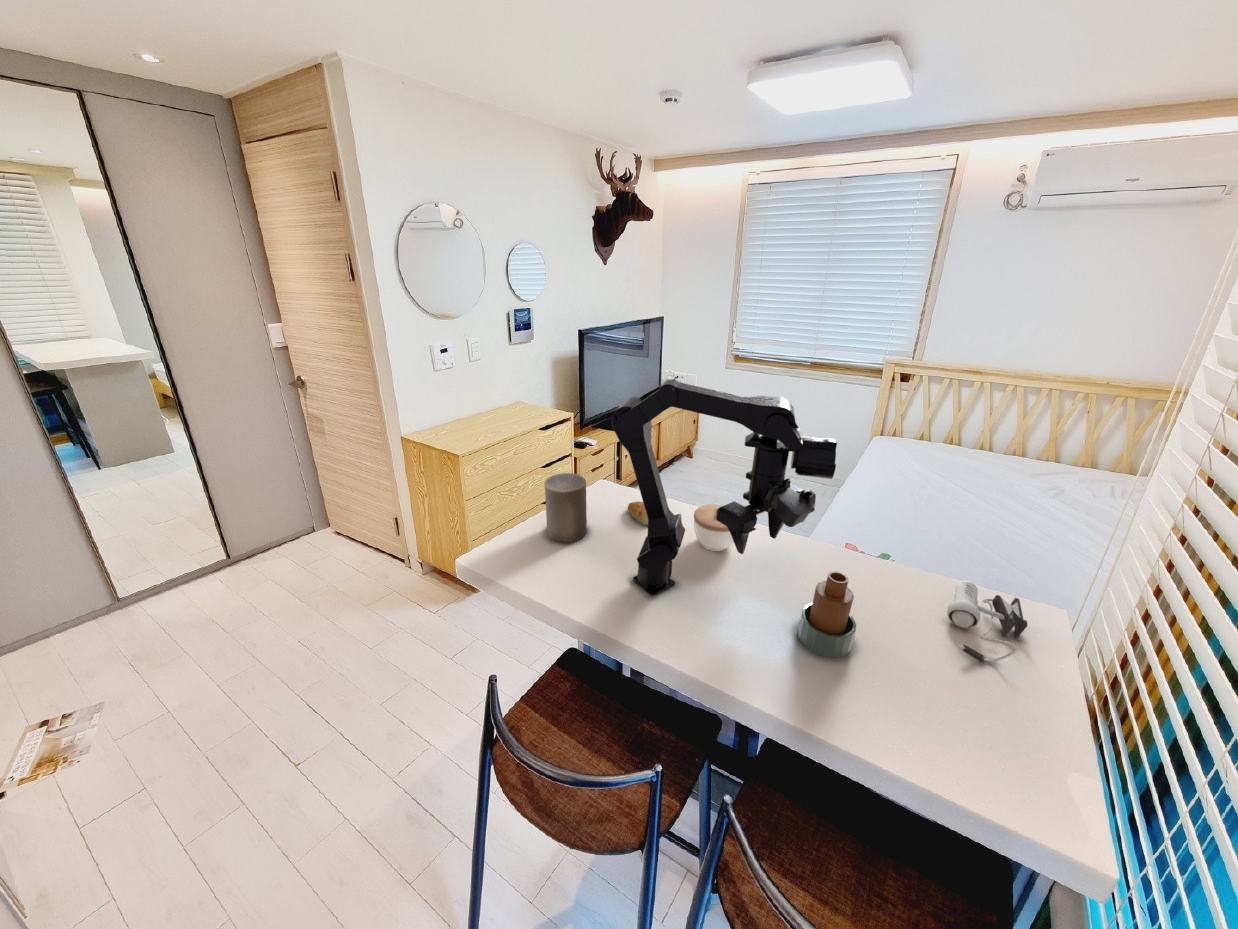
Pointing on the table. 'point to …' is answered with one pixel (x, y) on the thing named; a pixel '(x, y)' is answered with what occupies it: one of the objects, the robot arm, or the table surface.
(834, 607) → the bottle
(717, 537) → the trinket box
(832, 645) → the cup
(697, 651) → the table surface
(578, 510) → the pillar candle
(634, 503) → the pastry
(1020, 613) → the clip-on lamp
